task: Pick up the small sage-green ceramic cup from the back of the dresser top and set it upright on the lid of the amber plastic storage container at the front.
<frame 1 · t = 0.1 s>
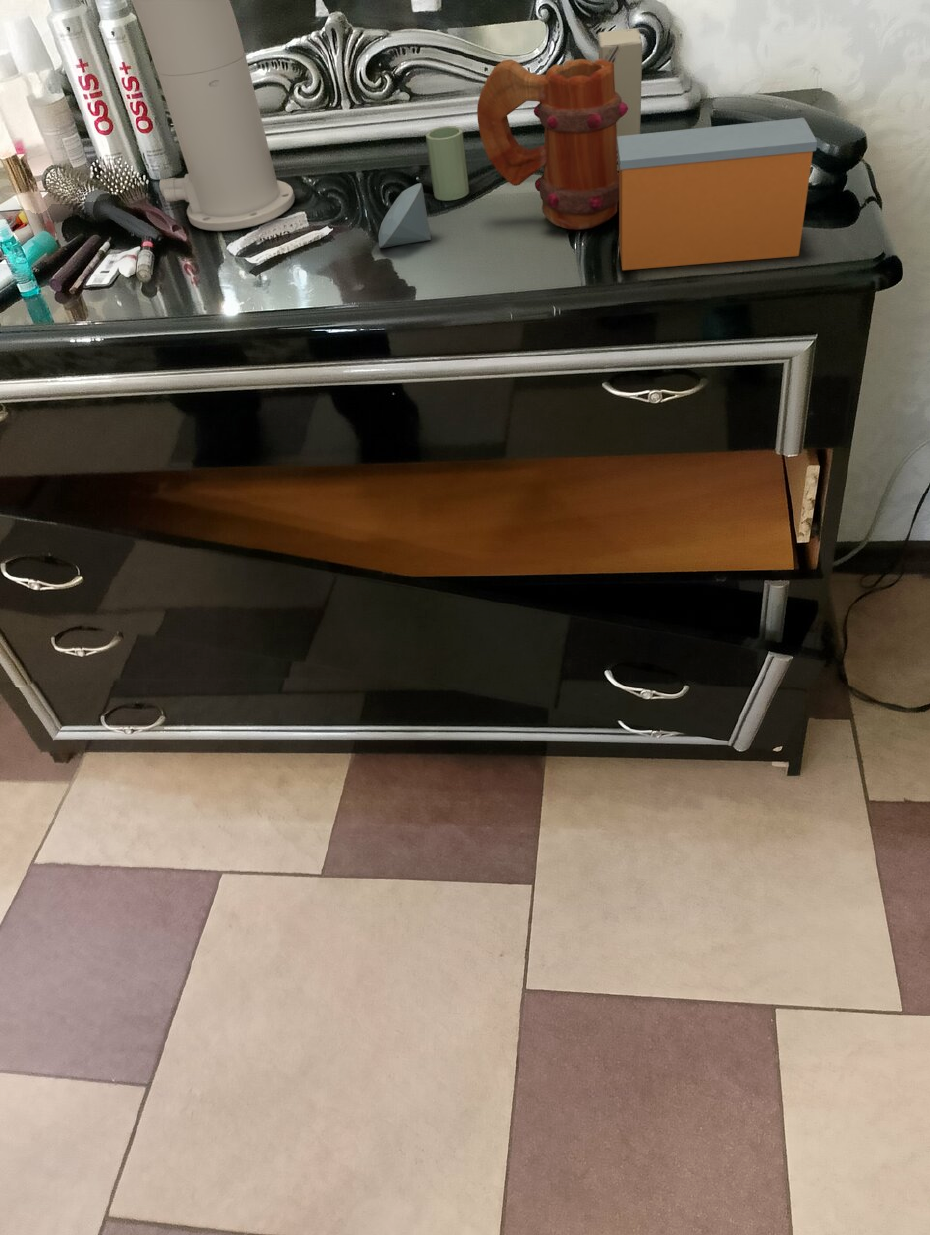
gemstone: (405, 243, 98), on the table
container: (718, 155, 79), on the table
box: (619, 165, 107), on the table
mug: (557, 222, 98), on the table
cup: (451, 193, 106), on the table
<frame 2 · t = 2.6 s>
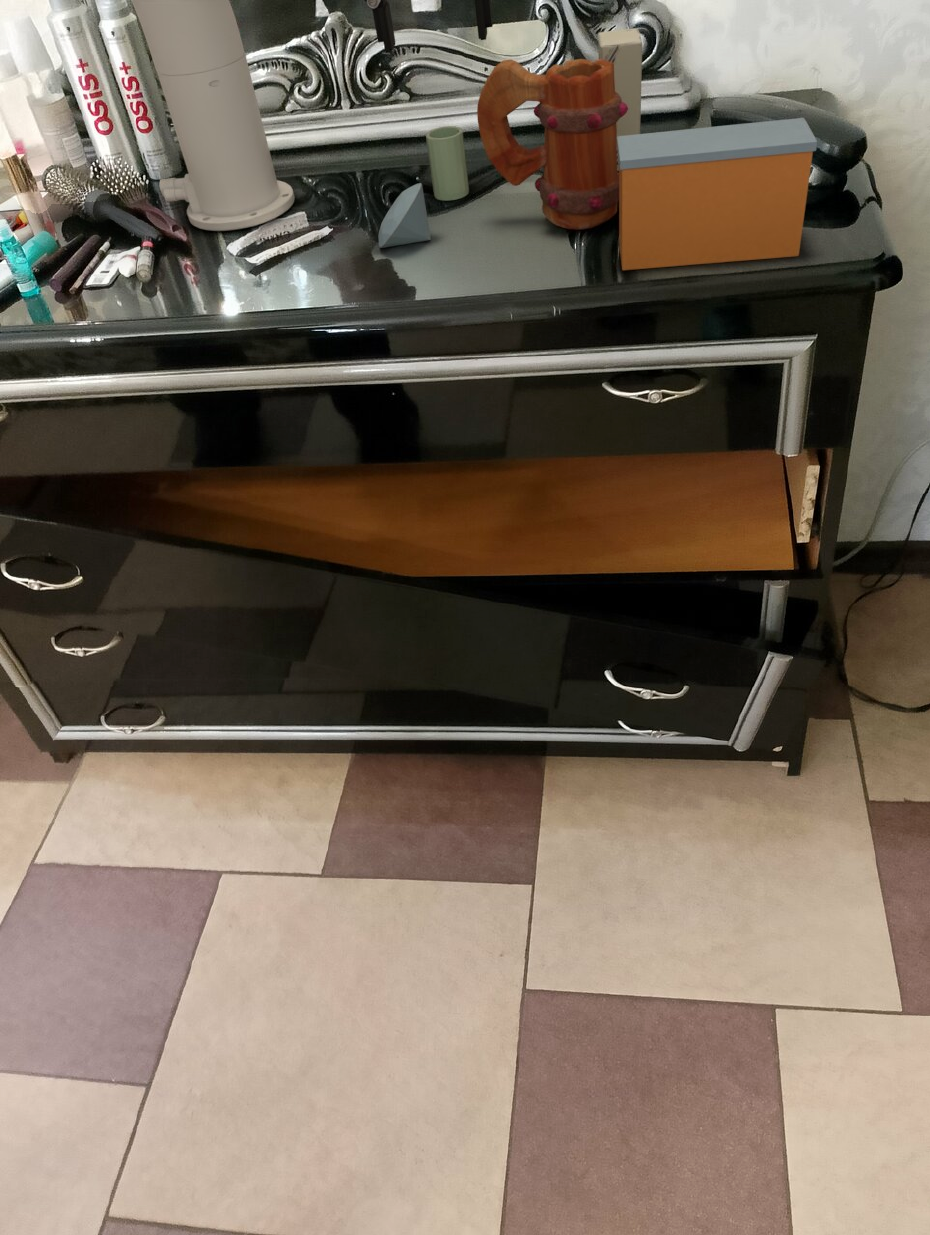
hand: (436, 42, 96), 15 cm above the table, tool pointing down, fingers open, 9 cm apart
nothing on the table moved.
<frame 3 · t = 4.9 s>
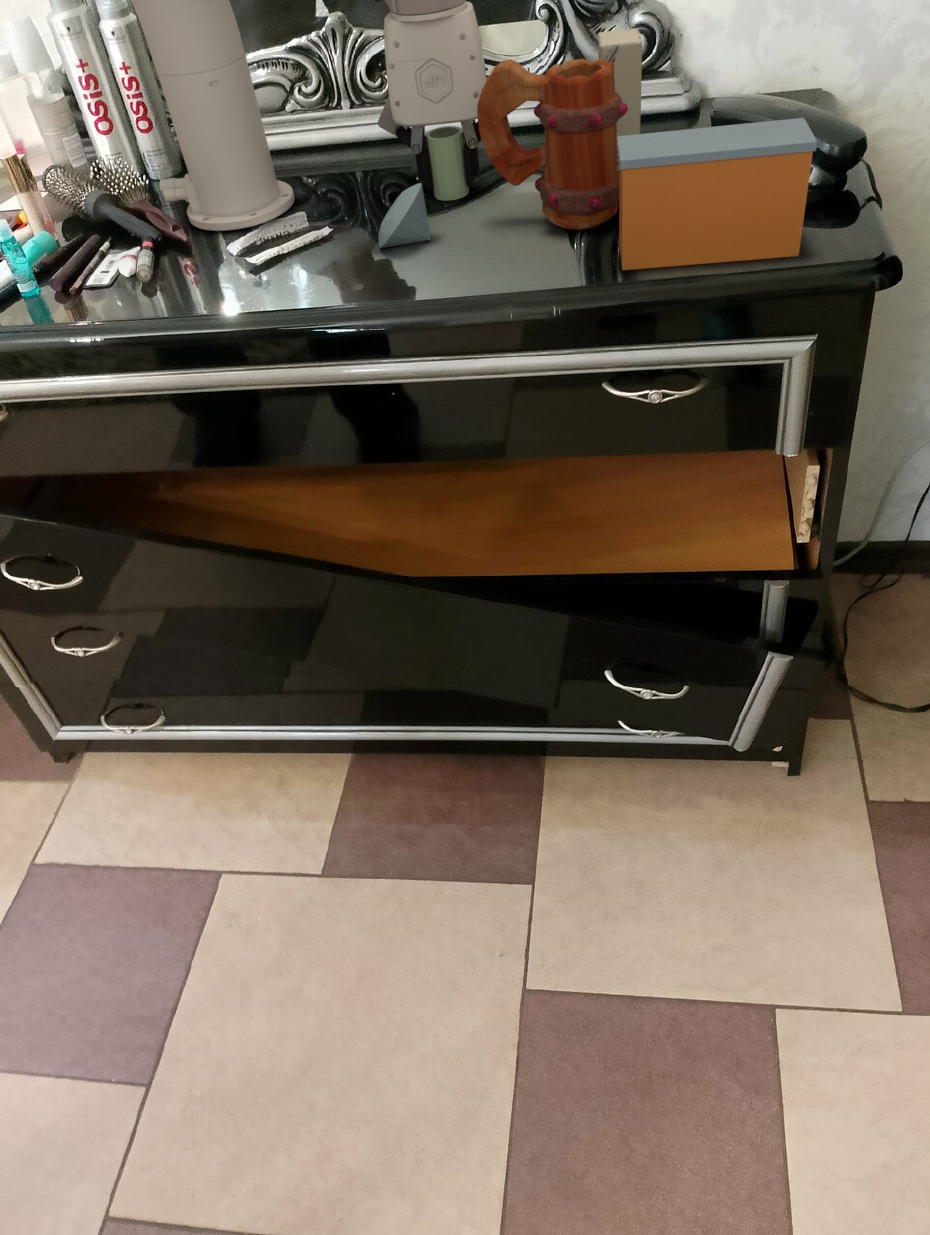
hand: (450, 182, 105), 1 cm above the table, tool pointing down, fingers closed on cup, 4 cm apart
cup: (451, 193, 106), on the table, touching gripper
everything else where it was.
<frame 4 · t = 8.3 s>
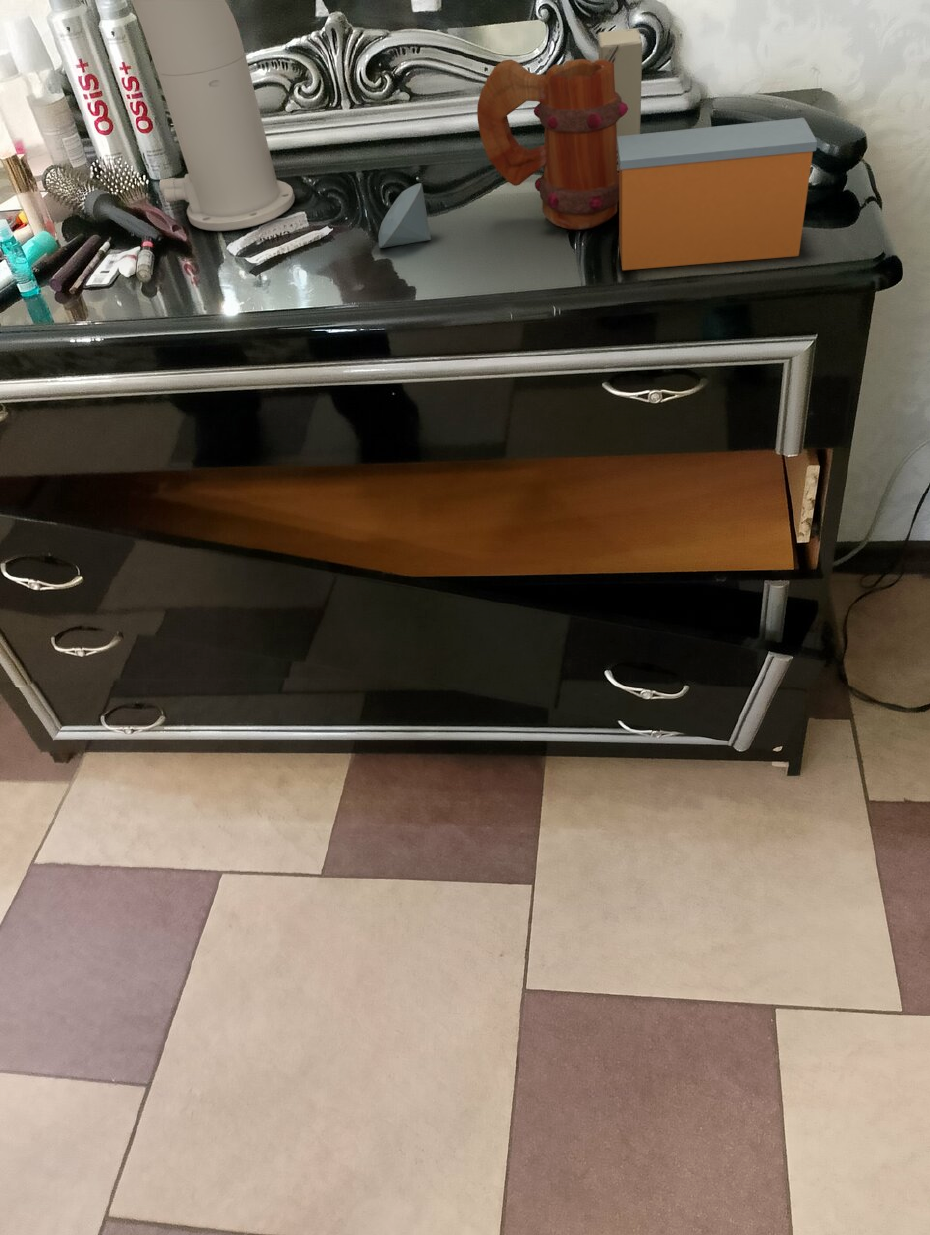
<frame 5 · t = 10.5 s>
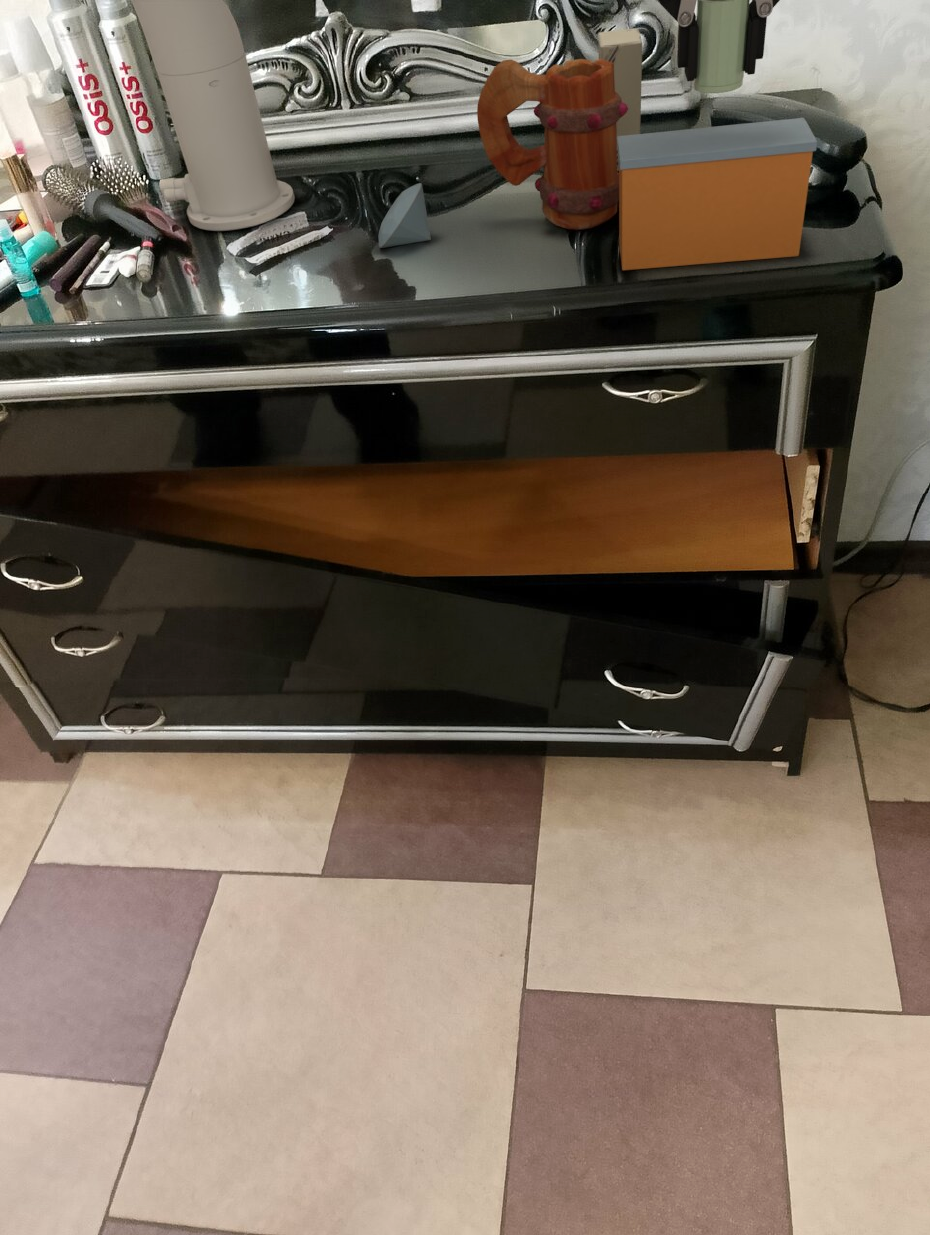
hand: (718, 70, 78), 15 cm above the table, tool pointing down, fingers closed on cup, 4 cm apart
cup: (717, 85, 79), point 14 cm above the table, touching gripper
everything else where it was.
when the fingers open (11 cm above the table, at t = 12.0 s): cup stays where it is, resting on container.
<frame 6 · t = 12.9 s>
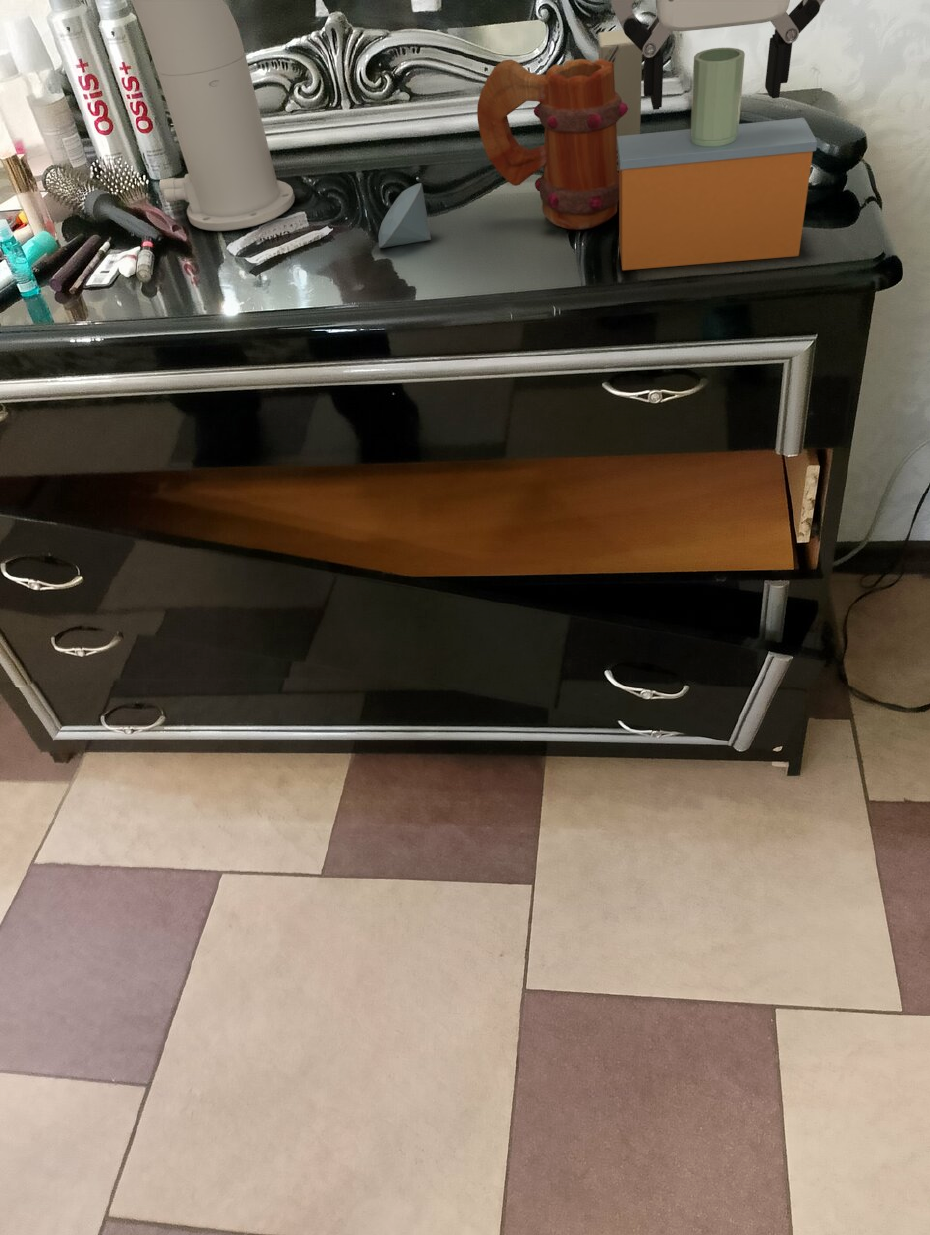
hand: (713, 98, 80), 13 cm above the table, tool pointing down, fingers open, 9 cm apart
cup: (713, 138, 82), point 10 cm above the table, touching container
everything else where it was.
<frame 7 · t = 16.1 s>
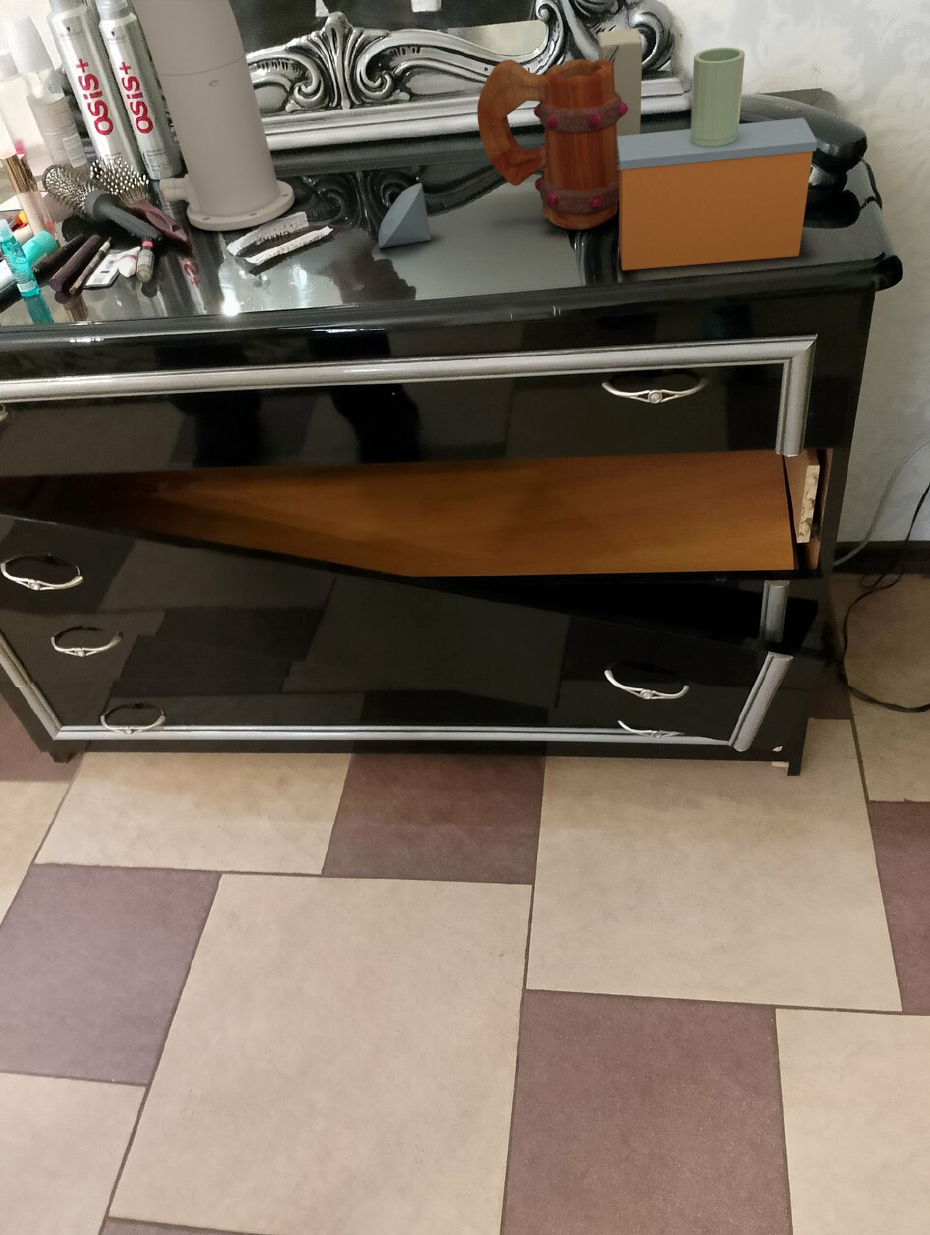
nothing on the table moved.
at the end: cup inside the target area on the container (0.0 cm from its centre), point 0.0 cm above the container's base; cup tilted 0°; the gripper is holding nothing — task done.
